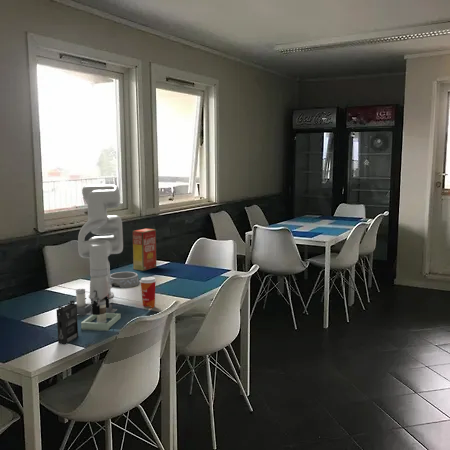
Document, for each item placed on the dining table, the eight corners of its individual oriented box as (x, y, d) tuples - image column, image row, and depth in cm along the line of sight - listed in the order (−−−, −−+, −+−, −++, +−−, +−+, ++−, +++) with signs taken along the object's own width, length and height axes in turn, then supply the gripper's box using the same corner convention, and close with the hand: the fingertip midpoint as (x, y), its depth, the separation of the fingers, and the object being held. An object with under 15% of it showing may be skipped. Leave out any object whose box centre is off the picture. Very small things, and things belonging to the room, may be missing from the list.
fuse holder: (74, 309, 241) (74, 301, 240) (118, 311, 237) (118, 304, 236) (64, 315, 231) (64, 308, 231) (109, 318, 227) (109, 310, 227)
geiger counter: (70, 334, 207) (68, 299, 204) (80, 335, 205) (78, 300, 203) (54, 343, 197) (52, 306, 195) (64, 345, 195) (62, 307, 193)
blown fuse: (99, 321, 221) (98, 299, 220) (108, 321, 220) (107, 299, 219) (95, 324, 217) (94, 301, 216) (104, 324, 216) (103, 302, 215)
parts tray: (95, 318, 226) (95, 312, 226) (120, 320, 224) (120, 313, 224) (81, 329, 213) (81, 322, 212) (108, 331, 211) (107, 324, 210)
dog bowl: (130, 289, 277) (129, 279, 276) (101, 286, 283) (101, 277, 282) (145, 281, 293) (144, 272, 292) (117, 279, 299) (117, 270, 298)
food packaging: (143, 271, 318) (142, 231, 314) (132, 269, 323) (131, 230, 319) (157, 267, 329) (156, 229, 325) (146, 265, 334) (145, 228, 330)
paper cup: (139, 305, 246) (138, 277, 244) (154, 303, 249) (153, 275, 247) (143, 310, 239) (142, 281, 237) (158, 307, 242) (158, 279, 240)
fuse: (79, 309, 237) (78, 288, 236) (87, 309, 236) (86, 288, 235) (75, 311, 233) (74, 290, 232) (83, 312, 232) (82, 291, 231)
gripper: (99, 267, 224) (101, 304, 227) (82, 276, 207) (83, 317, 210) (115, 268, 223) (116, 305, 225) (99, 277, 206) (100, 317, 209)
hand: (101, 311), depth 218 cm, fingers open, 9 cm apart
